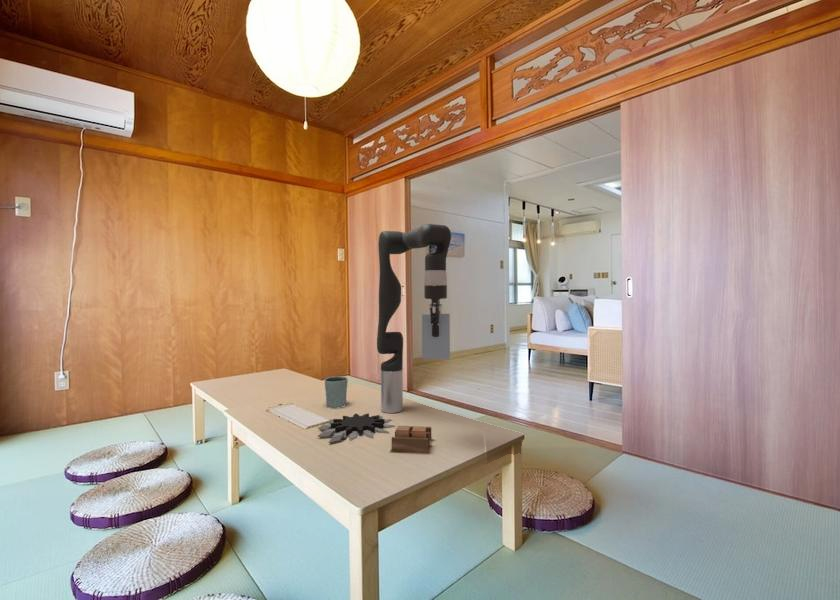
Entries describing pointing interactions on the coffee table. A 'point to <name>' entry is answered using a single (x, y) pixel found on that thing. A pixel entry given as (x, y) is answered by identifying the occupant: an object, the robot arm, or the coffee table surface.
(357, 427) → the decorative piece
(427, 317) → the tall board
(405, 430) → the offcut
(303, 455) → the coffee table surface
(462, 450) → the coffee table surface
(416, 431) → the offcut
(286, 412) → the baseboard molding
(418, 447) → the rack
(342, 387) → the teal cup
